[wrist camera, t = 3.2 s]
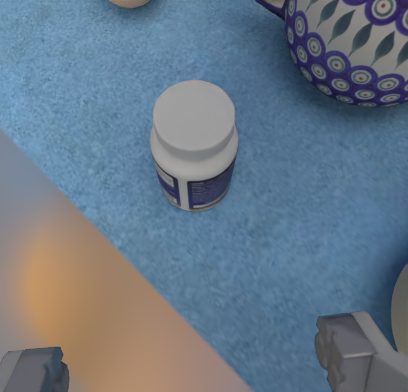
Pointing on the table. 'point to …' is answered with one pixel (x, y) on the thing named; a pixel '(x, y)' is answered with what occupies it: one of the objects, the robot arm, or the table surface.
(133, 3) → the egg
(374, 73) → the teapot
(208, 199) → the pill bottle
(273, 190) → the table surface
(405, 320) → the beige rounded board
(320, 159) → the table surface
